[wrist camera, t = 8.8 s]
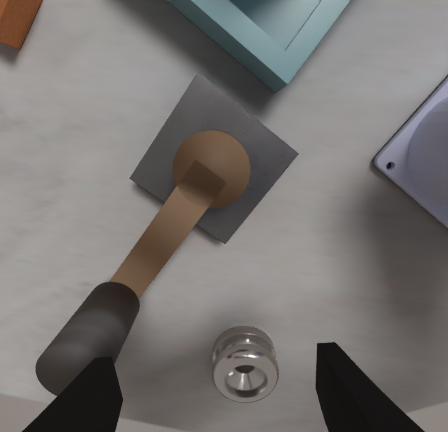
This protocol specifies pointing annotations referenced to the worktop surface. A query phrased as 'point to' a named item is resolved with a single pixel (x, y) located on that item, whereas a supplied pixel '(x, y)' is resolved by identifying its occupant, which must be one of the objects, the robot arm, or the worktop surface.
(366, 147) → the worktop surface
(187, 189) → the crank lever
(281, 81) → the tray
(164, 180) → the wooden and grey pieces
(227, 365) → the metal wheel
